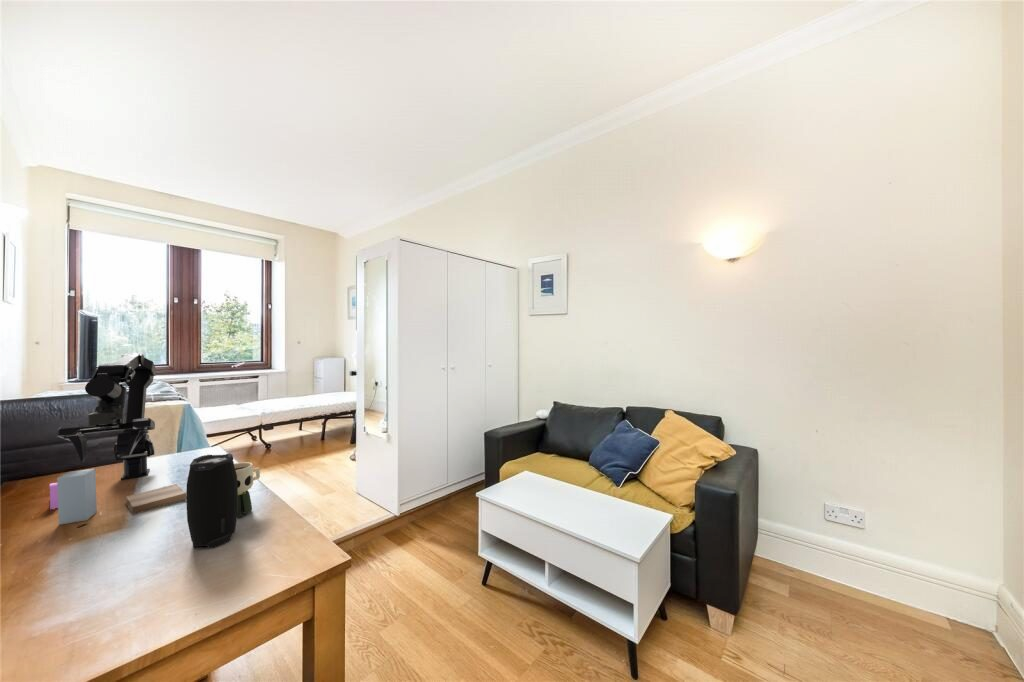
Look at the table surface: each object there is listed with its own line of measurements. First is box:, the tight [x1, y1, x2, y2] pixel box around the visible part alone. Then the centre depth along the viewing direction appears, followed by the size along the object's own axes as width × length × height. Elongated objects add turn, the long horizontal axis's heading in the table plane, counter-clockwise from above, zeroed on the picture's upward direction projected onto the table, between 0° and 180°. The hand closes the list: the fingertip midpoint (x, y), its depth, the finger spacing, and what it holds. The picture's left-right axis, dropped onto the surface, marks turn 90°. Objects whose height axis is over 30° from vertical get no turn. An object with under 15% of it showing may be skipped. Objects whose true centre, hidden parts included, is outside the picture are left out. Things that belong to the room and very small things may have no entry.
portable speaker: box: [185, 453, 238, 549], centre depth 87 cm, size 9×9×20 cm
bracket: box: [49, 482, 58, 510], centre depth 110 cm, size 13×6×7 cm, turn 50°
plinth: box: [125, 483, 186, 515], centre depth 108 cm, size 11×11×2 cm
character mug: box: [234, 461, 261, 518], centre depth 100 cm, size 11×7×13 cm, turn 146°
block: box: [56, 468, 98, 526], centre depth 98 cm, size 5×5×12 cm
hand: (106, 458), depth 106 cm, fingers open, 9 cm apart
